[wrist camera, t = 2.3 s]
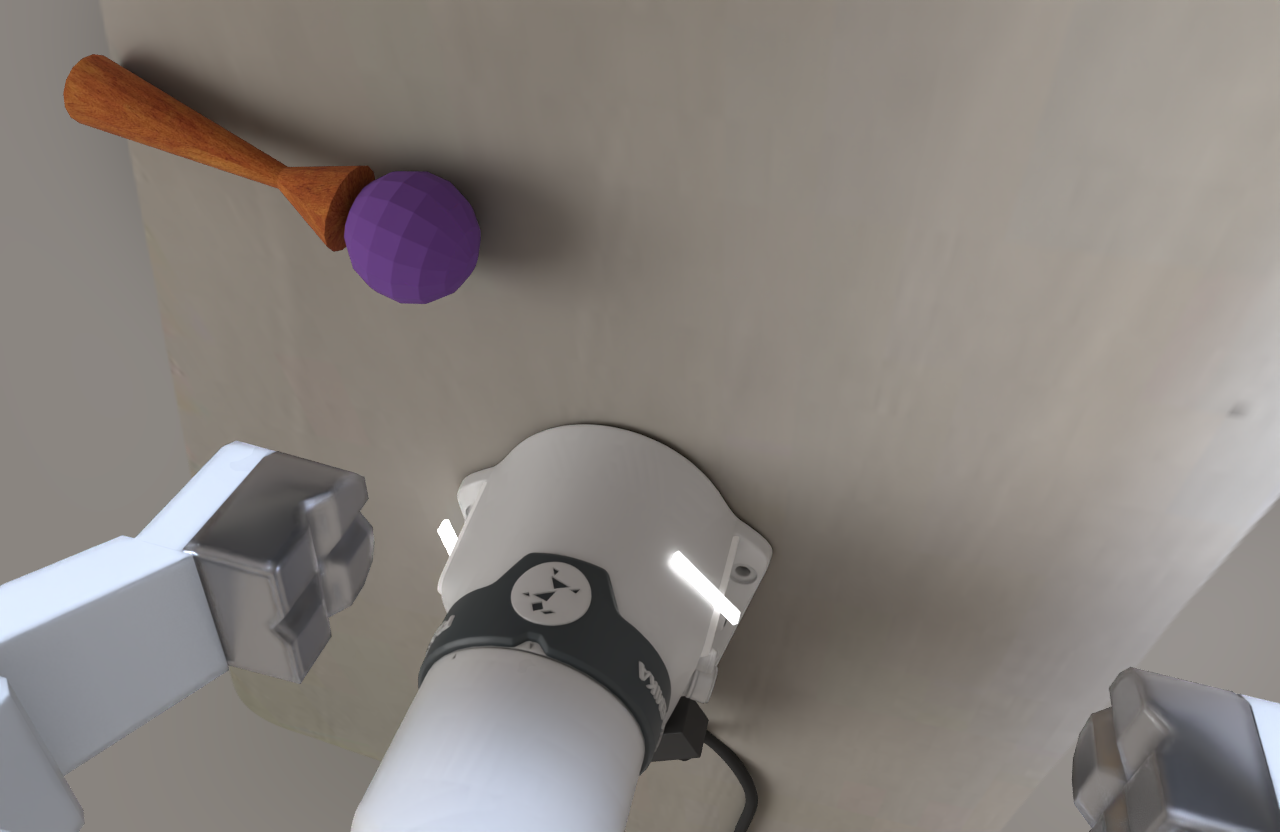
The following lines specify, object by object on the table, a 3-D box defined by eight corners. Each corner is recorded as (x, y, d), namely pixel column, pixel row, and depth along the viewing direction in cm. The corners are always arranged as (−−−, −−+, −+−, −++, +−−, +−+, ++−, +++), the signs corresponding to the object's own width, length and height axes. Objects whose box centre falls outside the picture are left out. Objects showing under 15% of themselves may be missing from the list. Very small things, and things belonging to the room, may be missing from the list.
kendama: (41, 30, 40) (459, 222, 39) (142, 21, 45) (514, 190, 44) (38, 161, 43) (427, 343, 42) (133, 138, 48) (482, 300, 47)
